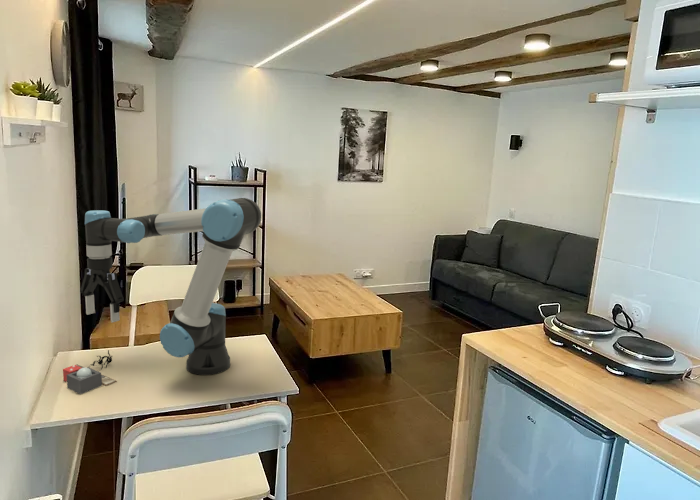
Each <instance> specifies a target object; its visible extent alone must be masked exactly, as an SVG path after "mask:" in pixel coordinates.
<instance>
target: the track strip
mask: <svg viewBox="0 0 700 500" xmlns="http://www.w3.org/2000/svg"><path fill="white" fill-rule="evenodd" d="M75 365H77V366H79V367H81V368H86V367H85V366H82V365H79V364H77V363H76V364H75ZM101 377H102V386H105V387H107V386H110V385H112V384H115V383H117V382H118V380H116V379H114V378H112V377H109V376H107V375H104V374H102V373H101Z"/></svg>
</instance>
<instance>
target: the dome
mask: <svg viewBox="0 0 700 500" xmlns="http://www.w3.org/2000/svg"><path fill="white" fill-rule="evenodd" d="M90 375H92V372H91V370H90V369H89V368H87V367H85V368H81V369H79V370H78V372H77V377H78V378H81V379H82V378H84V377H87V376H90Z"/></svg>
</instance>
